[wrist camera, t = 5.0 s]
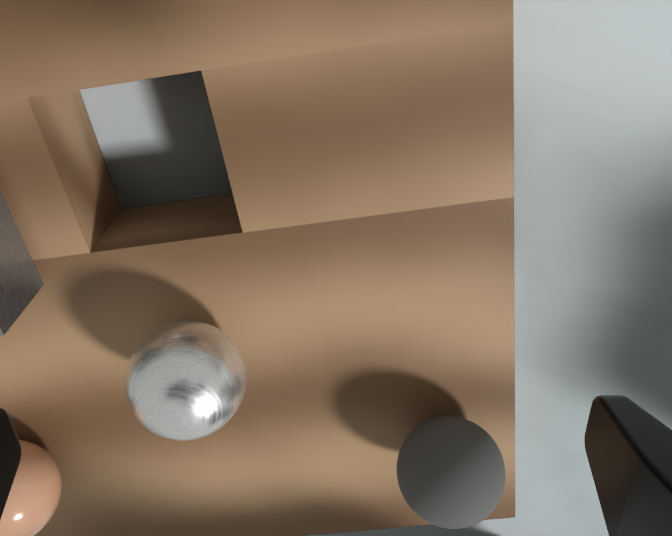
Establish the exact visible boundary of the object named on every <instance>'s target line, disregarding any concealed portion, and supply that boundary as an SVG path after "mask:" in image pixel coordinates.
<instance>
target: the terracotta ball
mask: <svg viewBox="0 0 672 536" xmlns="http://www.w3.org/2000/svg"><path fill="white" fill-rule="evenodd" d="M19 442H20V444H21V450H22V453H21V460H20V464H19V467H18V470H17V473H16V476H15V478H14V481H13V484H12V487H11V490H10V493H9V496H8V499H7V502H6V505H5V508H4V511H3V514H2V517H1V520H0V536H34V535H35V534H37V533H38V532H39V531H40V530H41V529H42V528H43V527H44V526H45V525H46V524H47V523H48V522H49V520H50V519H51V517H52V516H53V514H54V512H55V511H56V508H57V506H58V503H59V500H60V496H61V490H62V481H61V474H60V471H59V468H58V466H57V464H56V462H55V460H54V459H53V457H52V456H51V455H50V454H49V453H48V452H47V451H46V450H44V449H43V448H42V447H40V446H38V445H36V444H34V443H32V442H29V441H24V440H19Z"/></svg>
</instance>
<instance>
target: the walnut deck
mask: <svg viewBox="0 0 672 536" xmlns="http://www.w3.org/2000/svg"><path fill="white" fill-rule="evenodd" d="M195 71H201V72H202V76H203V80H204V84H205V88H206V92H207V95H208V99H209V103H210V107H211V111H212V115H213V119H214V123H215V127H216V130H217V134H218V138H219V142H220V146H221V150H222V154H223V158H224V162H225V166H226V169H227V173H228V177H229V181H230V185H231V189H232V193H233V194H229V195H222V196H215V197H208V198H200V199H193V200H186V201H178V202H171V203H164V204H157V205H149V206H142V207H135V208H127V209H122V208H121V205H120V202H119V200H118V197H117V194H116V191H115V189H114V186H113V183H112V180H111V177H110V175H109V172H108V169H107V166H106V164H105V161H104V158H103V155H102V153H101V150H100V147H99V144H98V141H97V139H96V136H95V133H94V130H93V128H92V125H91V122H90V119H89V117H88V114H87V111H86V108H85V105H84V103H83V100H82V97H81V94H80V92H79V89H86V88H92V87H99V86H105V85H112V84H118V83H125V82H131V81H137V80H144V79H150V78H157V77H163V76H170V75H176V74H182V73H189V72H195ZM0 190H1V193H2V195H3V197H4V199H5V201H6V203H7V205H8V208H9V210H10V212H11V214H12V216H13V218H14V221H15V223H16V225H17V227H18V229H19V231H20V233H21V236H22V238H23V240H24V242H25V244H26V246H27V249H28V251H29V253H30V255H31V257H32V259H33V261H34V264H35V266H36V268H37V270H38V272H39V274H40V277H41V279H42V281H43V283H44V285H43V287H42V288H41V289H40V291H39V292H38V293H37V294H36V296H35V297H34V298H33V299H32V301H31V302H30V303H29V304H28V306H27V307H26V308H25V309H24V311H23V312H22V313H21V315H20V316H19V317H18V318H17V320H16V321H15V322H14V323H13V325H12V326H11V327H10V328H9V330H8V331H7V332H6V333H5V335H2V336H0V408H2V409H4V410H5V411H6V412H7V413H8V415H9V418H10V420H11V422H12V425H13V427H14V430H15V432H16V434H17V437H18V439H19V440H24V441H29V442H32V443H34V444H36V445H38V446H40V447H42V448H43V449H44V450H46V451H47V452H48V453H49V454H50V455H51V456H52V457H53V459H54V460H55V462H56V464H57V466H58V468H59V471H60V474H61V481H62V490H61V496H60V500H59V503H58V506H57V508H56V511H55V512H54V514H53V516H52V517H51V519H50V520H49V522H48V523H47V524H46V525H45V526H44V527H43V528H42V529H41V530H40V531H39V532H38V533H37V534H35V535H34V536H305V535H316V534H328V533H339V532H351V531H362V530H374V529H385V528H397V527H408V526H419V525H431V524H430V523H429V522H427V521H425V520H424V519H422V518H421V517H419V516H418V515H417V514H416V513H415V512H414V511H413V510H412V509H411V508H410V506H409V505H408V504H407V502H406V501H405V499H404V497H403V495H402V493H401V490H400V488H399V484H398V479H397V459H398V454H399V451H400V449H401V446H402V444H403V442H404V440H405V439H406V437H407V436H408V435H409V434H410V433H411V431H412V430H413V429H414V428H416V427H417V426H418V425H420V424H421V423H423V422H425V421H427V420H429V419H432V418H436V417H441V416H455V417H460V418H464V419H467V420H469V421H471V422H473V423H475V424H477V425H479V426H480V427H481V428H483V429H484V430H485V431H486V432H487V433H488V434H489V435H490V436H491V437H492V438H493V440H494V441H495V442H496V444H497V446H498V448H499V450H500V452H501V454H502V457H503V460H504V465H505V473H506V479H505V487H504V491H503V494H502V497H501V499H500V501H499V503H498V505H497V506H496V508H495V509H494V510H493V512H492V513H491V514H490V515H489V516H488V517H487V518H485V519H484V520H488V519H500V518H511V517H515V361H514V102H513V0H0ZM186 320H192V321H200V322H204V323H207V324H210V325H213V326H215V327H217V328H218V329H220V330H221V331H223V332H224V333H225V334H227V335H228V336H229V337H230V338H231V339H232V340H233V341H234V343H235V344H236V345H237V347H238V349H239V351H240V352H241V354H242V357H243V360H244V363H245V368H246V388H245V393H244V396H243V399H242V402H241V404H240V406H239V408H238V410H237V411H236V413H235V414H234V415H233V417H232V418H231V419H230V420H229V421H228V422H227V423H226V424H225V425H224V426H223V427H222V428H220V429H219V430H217V431H216V432H214V433H212V434H210V435H208V436H205V437H203V438H199V439H195V440H188V441H178V440H171V439H167V438H164V437H161V436H159V435H156V434H154V433H153V432H151V431H149V430H148V429H147V428H145V427H144V426H143V425H142V424H141V423H140V422H139V421H138V420H137V418H136V417H135V416H134V414H133V412H132V410H131V408H130V407H129V404H128V401H127V398H126V393H125V373H126V368H127V365H128V362H129V360H130V357H131V355H132V353H133V352H134V350H135V348H136V347H137V346H138V344H139V343H140V342H141V341H142V340H143V339H144V338H145V337H146V336H147V335H148V334H150V333H151V332H152V331H154V330H156V329H157V328H159V327H161V326H164V325H166V324H169V323H172V322H177V321H186Z"/></svg>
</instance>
